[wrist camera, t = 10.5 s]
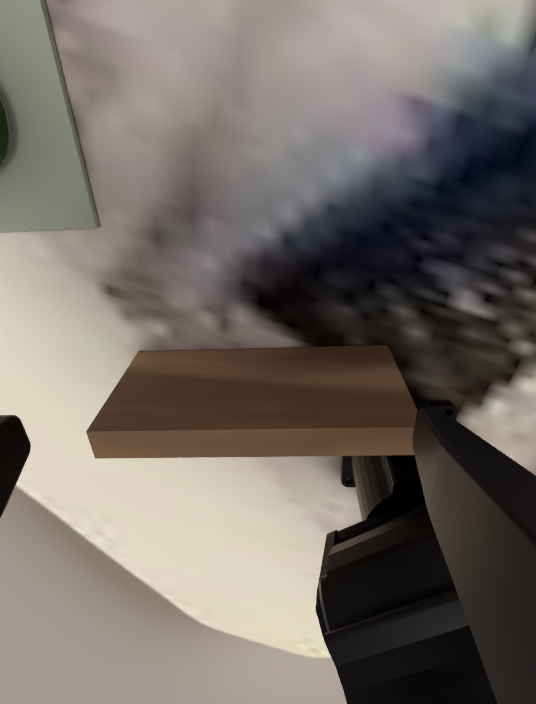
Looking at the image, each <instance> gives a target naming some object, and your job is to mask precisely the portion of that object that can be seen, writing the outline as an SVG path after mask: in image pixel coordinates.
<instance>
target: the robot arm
mask: <svg viewBox="0 0 536 704" xmlns="http://www.w3.org/2000/svg"><path fill="white" fill-rule="evenodd" d="M414 404H415V406H416V408H417V413H416V418H415V425H414V431H413V438H412V444H413V450H414V455H376V456H342V461H341V482H342V484H343V486H345V487H356V491H357V496H358V501H359V507H360V512H361V517H362V521H361V522H359V523H357V524H354V525H352V526H350V527H347V528H345V529H343V530H340V531H337V530H335V531H333V532H331V533H328V534H327V537H326V543H325V549H324V554H323V560H322V566H321V572H320V577H319V583H318V589H317V599H316V602H317V603H316V613H317V616H318V619H319V624H320V627H321V631H322V635H323V637H324V641H325V644H326V646H327V648H328V650H329V653H330V655H331V657H332V659H333V661H334V664H335V666H336V669H337V672H338V675H339V678H340V681H341V684H342V687H343V690H344V693H345V697H346V701H347V704H536V476H535V475H534V474H533V473H531V472H530V471H528V470H527V469H525V468H524V467H522V466H521V465H519V464H518V463H517V462H515V461H514V460H512V459H511V458H509V457H508V456H506V455H505V454H504V453H502V452H501V451H499V450H498V449H496V448H495V447H493V446H492V445H490V444H489V443H488V442H486V441H485V440H483V439H482V438H480V437H479V436H477V435H476V434H474V433H473V432H472V431H470V430H469V429H467V428H466V427H464V426H463V425H461V424H460V423H458V422H457V421H456V418H457V413H458V411H457V408H456V407H455V405H454V404H453V403H452V402H414ZM448 409H450V411H448V412H445V411H446V410H448ZM30 447H31V446H30V441H29V439H28V436H27V434H26V432H25V429H24V427H23V425H22V422H21V420H20V419H19V418H18V417H17V416H15V415H0V518H1V516H2V514H3V512H4V510H5V508H6V506H7V503H8V501H9V499H10V496H11V494H12V492H13V490H14V488H15V485H16V483H17V481H18V478H19V476H20V474H21V472H22V469H23V467H24V465H25V462H26V460H27V458H28V456H29V453H30ZM347 479H350V480H347Z"/></svg>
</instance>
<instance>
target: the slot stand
mask: <svg viewBox="0 0 536 704" xmlns="http://www.w3.org/2000/svg"><path fill="white" fill-rule="evenodd" d="M416 413H417V408H416V406H415V404H414V402H413V400H412V397H411V395H410V393H409V391H408V389H407V386H406V384H405V382H404V380H403V378H402V375H401V373H400V371H399V369H398V367H397V365H396V362H395V360H394V358H393V356H392V354H391V351H390V349H389V347H388V345H373V346H335V347H296V348H257V349H219V350H180V351H141V352H138V353H137V355H136V356H135V358H134V359H133V361H132V362H131V364H130V365H129V367H128V369H127V370H126V372H125V373H124V375H123V376H122V378H121V379H120V381H119V382H118V384H117V385H116V387H115V388H114V390H113V391H112V393H111V395H110V396H109V398H108V399H107V401H106V402H105V404H104V405H103V407H102V408H101V410H100V411H99V413H98V414H97V416H96V418H95V419H94V421H93V422H92V424H91V425H90V427H89V428H88V430H87V431H86V432H87V435H88V438H89V441H90V444H91V447H92V450H93V453H94V456H95V458H178V457H277V456H376V455H414V450H413V444H412V438H413V431H414V425H415V418H416Z"/></svg>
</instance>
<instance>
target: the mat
mask: <svg viewBox="0 0 536 704" xmlns="http://www.w3.org/2000/svg"><path fill="white" fill-rule="evenodd" d="M0 93H1V95H2V98H3V100H4V102H5V105H6V107H7V109H8V112H9V117H10V123H11V129H12V135H11V143H10V150H9V151H8V153H7V155H6V157H5V159H4V161H3V162H2V164H1V166H0V233H5V232H27V231H50V230H73V229H95V228H98V227H100V226H99V222H98V218H97V214H96V210H95V206H94V201H93V197H92V193H91V189H90V185H89V181H88V177H87V173H86V169H85V164H84V160H83V156H82V152H81V148H80V144H79V140H78V136H77V131H76V127H75V123H74V119H73V115H72V111H71V107H70V103H69V99H68V94H67V90H66V86H65V82H64V78H63V74H62V70H61V66H60V61H59V57H58V53H57V49H56V45H55V41H54V37H53V33H52V29H51V24H50V20H49V16H48V12H47V8H46V4H45V0H0Z"/></svg>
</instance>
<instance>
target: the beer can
mask: <svg viewBox="0 0 536 704" xmlns="http://www.w3.org/2000/svg"><path fill="white" fill-rule="evenodd" d="M11 135H12V129H11V123H10V117H9V112H8V109H7V107H6V105H5V102H4V100H3V98H2V95H1V93H0V166H1V164H2V162H3V161H4V159H5V157H6V155H7V153H8V151H9V150H10V143H11Z"/></svg>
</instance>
